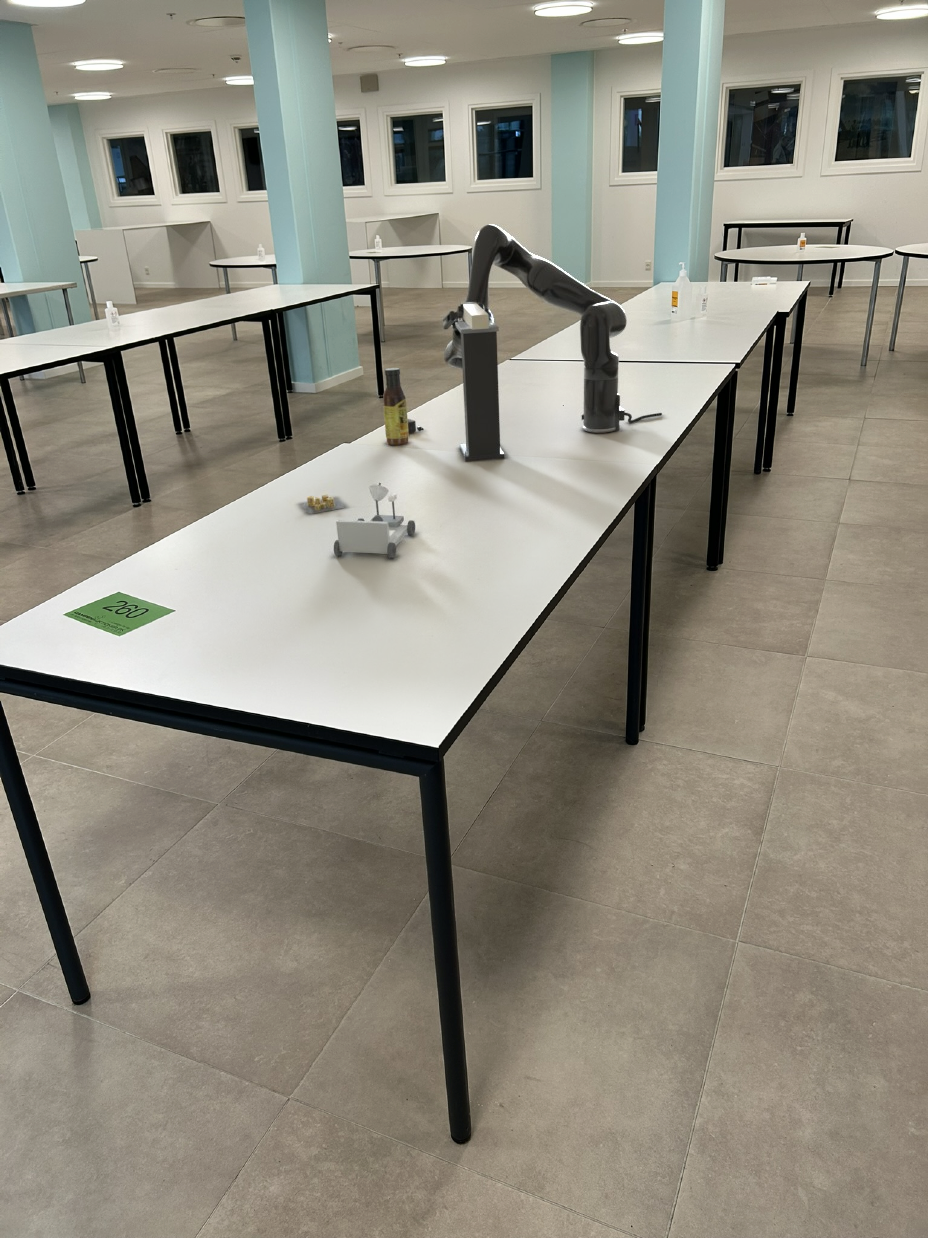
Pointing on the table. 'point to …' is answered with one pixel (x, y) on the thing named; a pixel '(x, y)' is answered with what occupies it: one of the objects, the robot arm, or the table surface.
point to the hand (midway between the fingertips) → (471, 306)
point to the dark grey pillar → (480, 392)
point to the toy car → (373, 530)
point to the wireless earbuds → (413, 426)
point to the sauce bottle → (395, 409)
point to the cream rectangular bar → (475, 316)
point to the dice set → (321, 504)
